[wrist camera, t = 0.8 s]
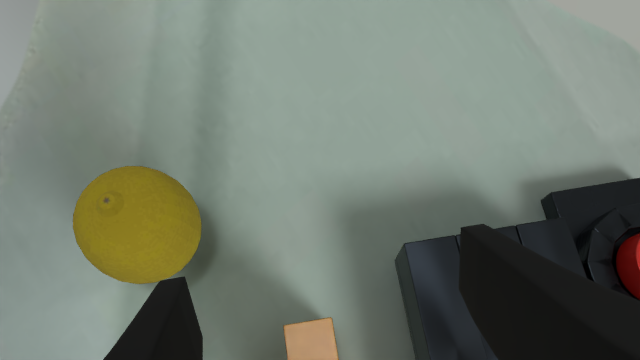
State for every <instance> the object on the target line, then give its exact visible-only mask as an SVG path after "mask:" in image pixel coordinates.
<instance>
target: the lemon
mask: <svg viewBox="0 0 640 360" xmlns="http://www.w3.org/2000/svg"><path fill="white" fill-rule="evenodd" d="M73 229H74V233H75V237H76V241H77V244H78V245H79V247H80V249H81V250H82V252H83V254H84V255H85V257H86V258H87V259H88V260H89V261H90V262H91V263H92V264H93V265H94V266H95V267H96V268H97V269H99V270H100V271H101V272H102V273H104V274H106V275H108V276H110V277H112V278H115V279H117V280H119V281H122V282H129V283H135V284H144V283H154V282H158V281H160V280H163V279H166V278H169V277H171V276H172V275H174V274H176V273H177V272H179V271H180V270H181V269H182V268H183V267H184V266H185V265H186V264H187V263H188V262H189V261H190V260H191V258H192V257H193V255H194V253H195V252H196V250H197V248H198V244H199V241H200V238H201V219H200V214H199V210H198V207H197V205H196V203H195V202H194V200H193V198H192V196H191V194H190V193H189V192H188V191H187V190H186V189H185V188H184V187H183V186H182V185H181V184H180V183H179V182H178V181H177V180H175V179H173V178H172V177H170V176H168V175H167V174H165V173H163V172H161V171H158V170H154V169H151V168H147V167H142V166H125V167H121V168H116V169H113V170H110V171H108V172H106V173H104V174H102V175H100V176H99V177H97V178H96V179H95V180H93V181H92V182H91V183H90V184H89V185H88V186H87V187H86V188H85V190H84V191H83V192H82V194H81V196H80V197H79V199H78V201H77V204H76V207H75V211H74V215H73Z"/></svg>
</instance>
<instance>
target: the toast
mask: <svg viewBox="0 0 640 360" xmlns="http://www.w3.org/2000/svg"><path fill="white" fill-rule="evenodd" d="M283 328H284V335H285V343H286V351H287V359H288V360H339V358H338V352H337V346H336V340H335V334H334V328H333V322H332V318H331V317H329V318H323V319H317V320H311V321H305V322H299V323H293V324H288V325H284V326H283Z"/></svg>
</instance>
